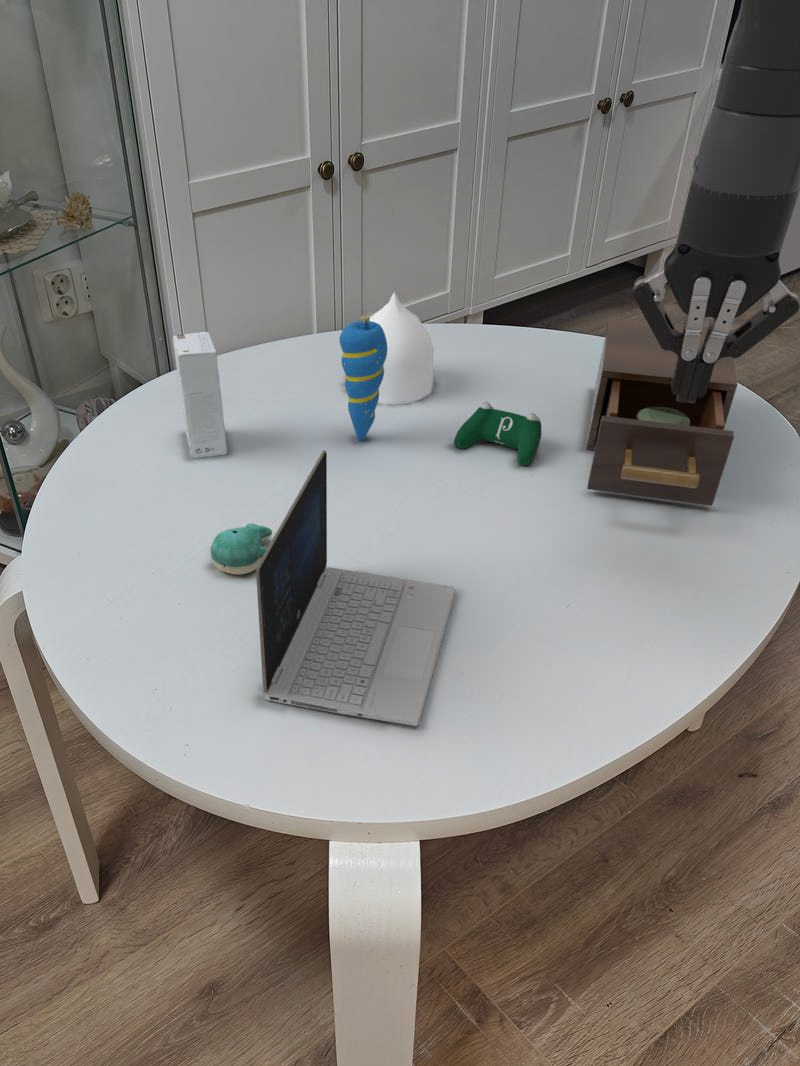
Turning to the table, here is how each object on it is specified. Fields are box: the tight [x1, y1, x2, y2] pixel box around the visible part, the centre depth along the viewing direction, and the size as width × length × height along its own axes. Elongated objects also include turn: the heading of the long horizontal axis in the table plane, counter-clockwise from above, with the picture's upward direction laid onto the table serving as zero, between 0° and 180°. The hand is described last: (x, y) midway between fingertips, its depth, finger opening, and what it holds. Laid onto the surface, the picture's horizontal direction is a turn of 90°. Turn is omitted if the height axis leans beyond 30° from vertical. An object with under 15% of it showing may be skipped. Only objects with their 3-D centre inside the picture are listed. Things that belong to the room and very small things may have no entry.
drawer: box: [586, 378, 735, 507], centre depth 94 cm, size 19×12×8 cm, turn 164°
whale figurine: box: [210, 523, 273, 575], centre depth 86 cm, size 6×7×4 cm
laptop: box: [255, 449, 456, 727], centre depth 73 cm, size 18×12×13 cm
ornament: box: [339, 309, 387, 442], centre depth 100 cm, size 5×5×15 cm
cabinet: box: [585, 317, 738, 452], centre depth 104 cm, size 16×14×10 cm
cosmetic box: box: [172, 331, 228, 459], centre depth 100 cm, size 6×4×12 cm
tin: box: [635, 406, 691, 426], centre depth 95 cm, size 5×5×5 cm
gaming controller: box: [453, 401, 542, 467], centre depth 102 cm, size 9×4×6 cm
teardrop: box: [369, 291, 435, 405], centre depth 112 cm, size 11×11×12 cm
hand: (685, 398), depth 77 cm, fingers closed
